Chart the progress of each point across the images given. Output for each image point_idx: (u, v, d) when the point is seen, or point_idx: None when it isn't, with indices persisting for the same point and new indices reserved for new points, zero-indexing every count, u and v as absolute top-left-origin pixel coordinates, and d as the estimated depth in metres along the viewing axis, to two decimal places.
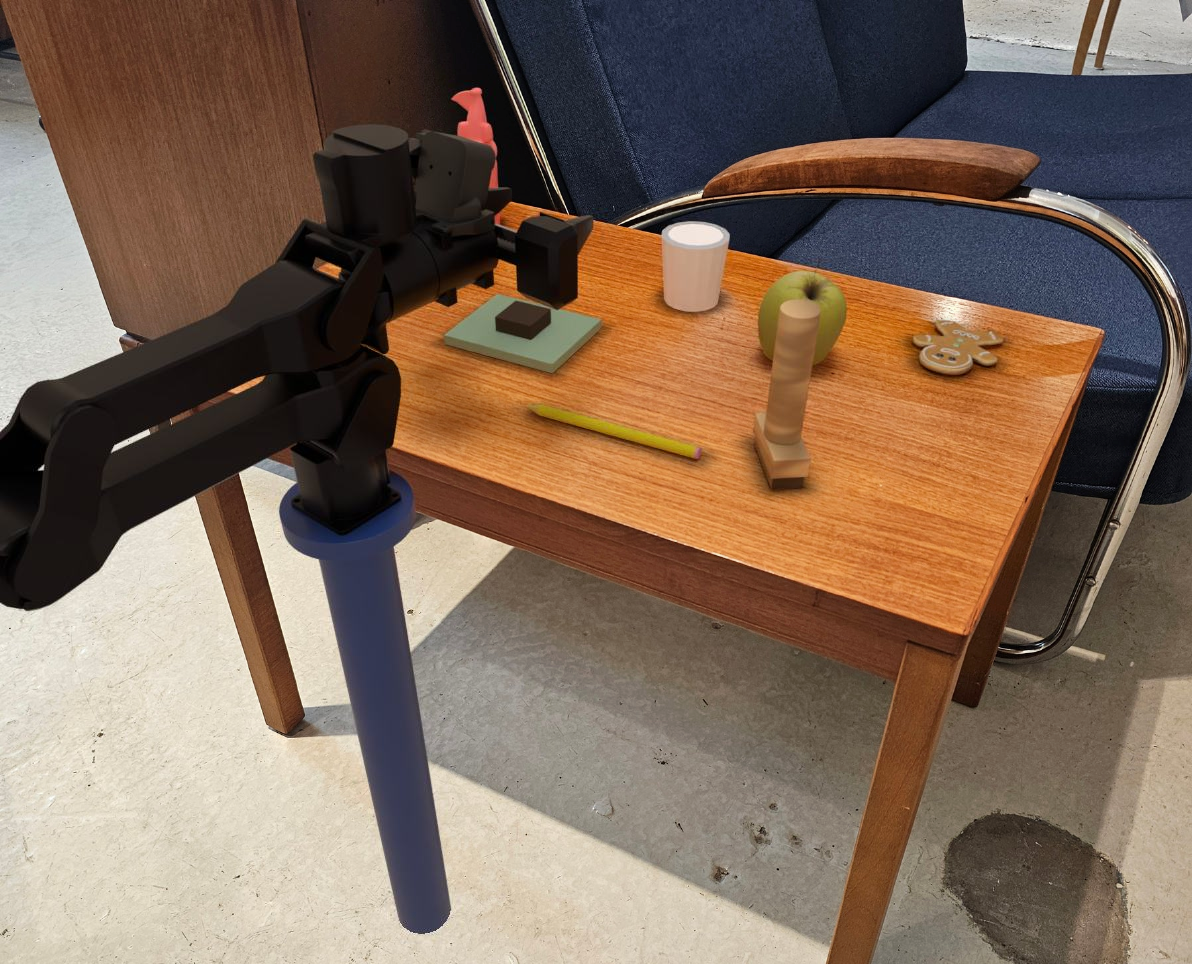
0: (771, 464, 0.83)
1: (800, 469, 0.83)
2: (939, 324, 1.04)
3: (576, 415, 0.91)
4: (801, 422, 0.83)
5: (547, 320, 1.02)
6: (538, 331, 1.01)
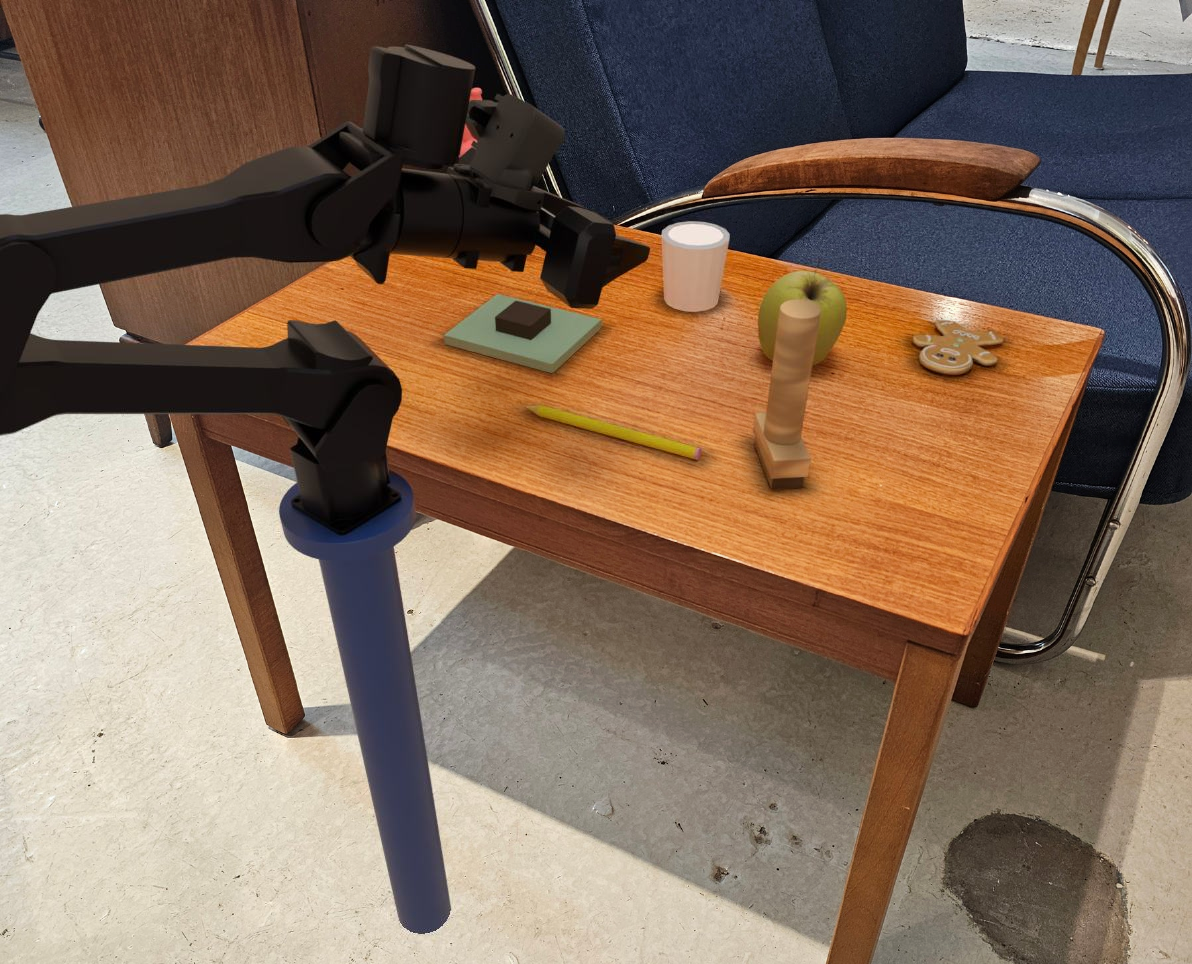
0: (771, 464, 0.83)
1: (800, 469, 0.83)
2: (939, 324, 1.04)
3: (576, 416, 0.91)
4: (801, 422, 0.83)
5: (547, 320, 1.02)
6: (538, 331, 1.01)
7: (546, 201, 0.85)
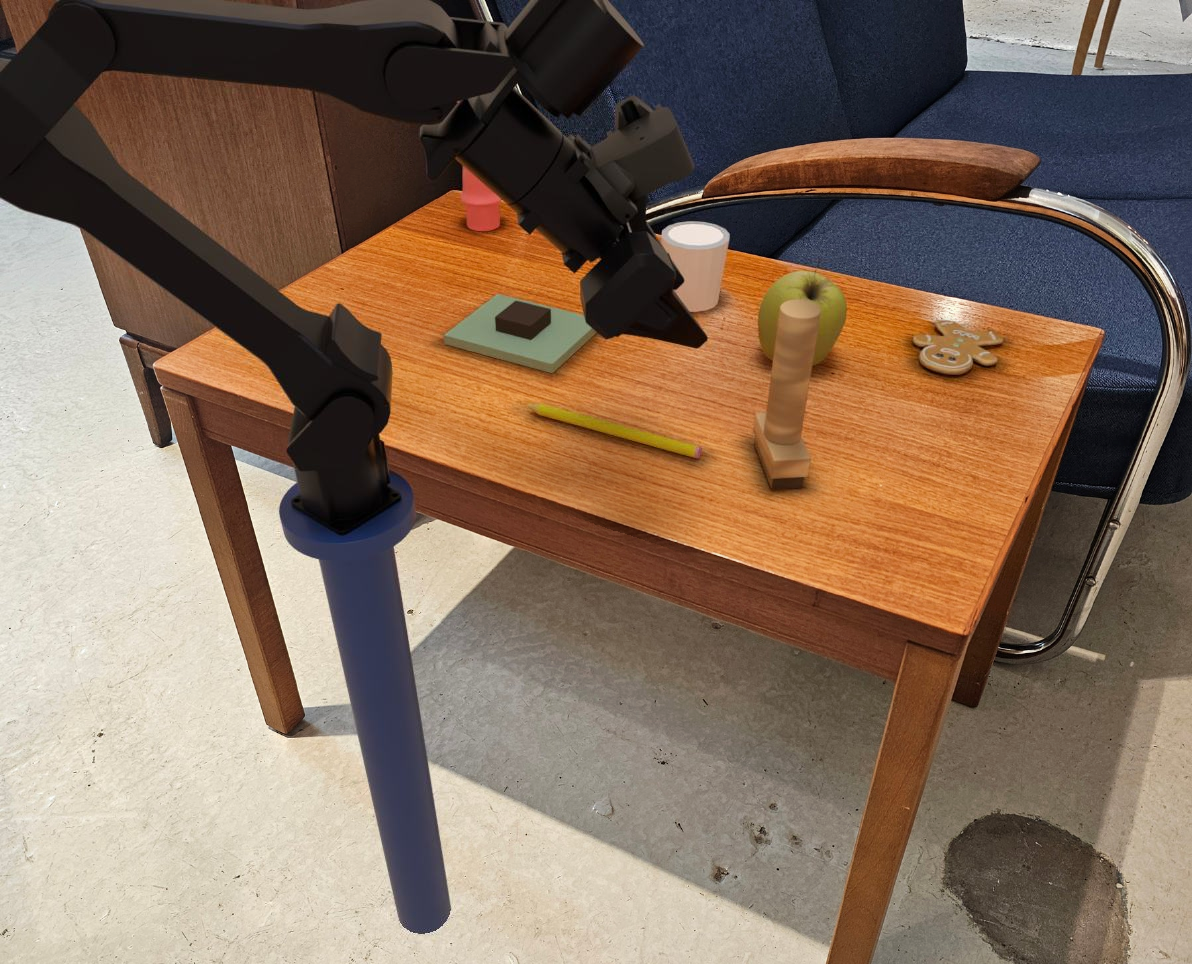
0: (771, 464, 0.83)
1: (800, 469, 0.83)
2: (939, 324, 1.04)
3: (576, 414, 0.91)
4: (801, 422, 0.83)
5: (547, 320, 1.02)
6: (538, 331, 1.01)
7: None
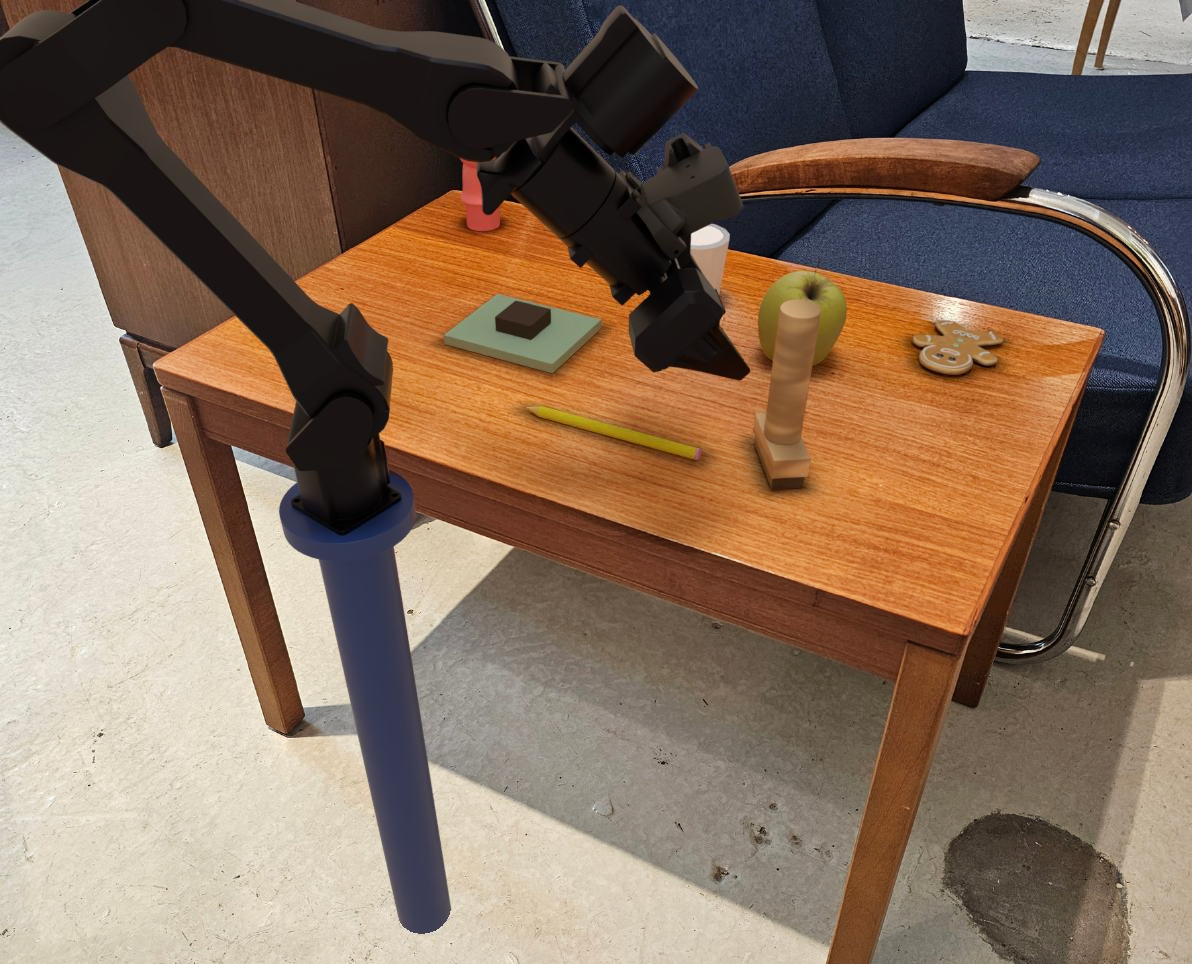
0: (771, 464, 0.83)
1: (800, 469, 0.83)
2: (939, 324, 1.04)
3: (576, 417, 0.91)
4: (801, 422, 0.83)
5: (547, 320, 1.02)
6: (538, 331, 1.01)
7: None
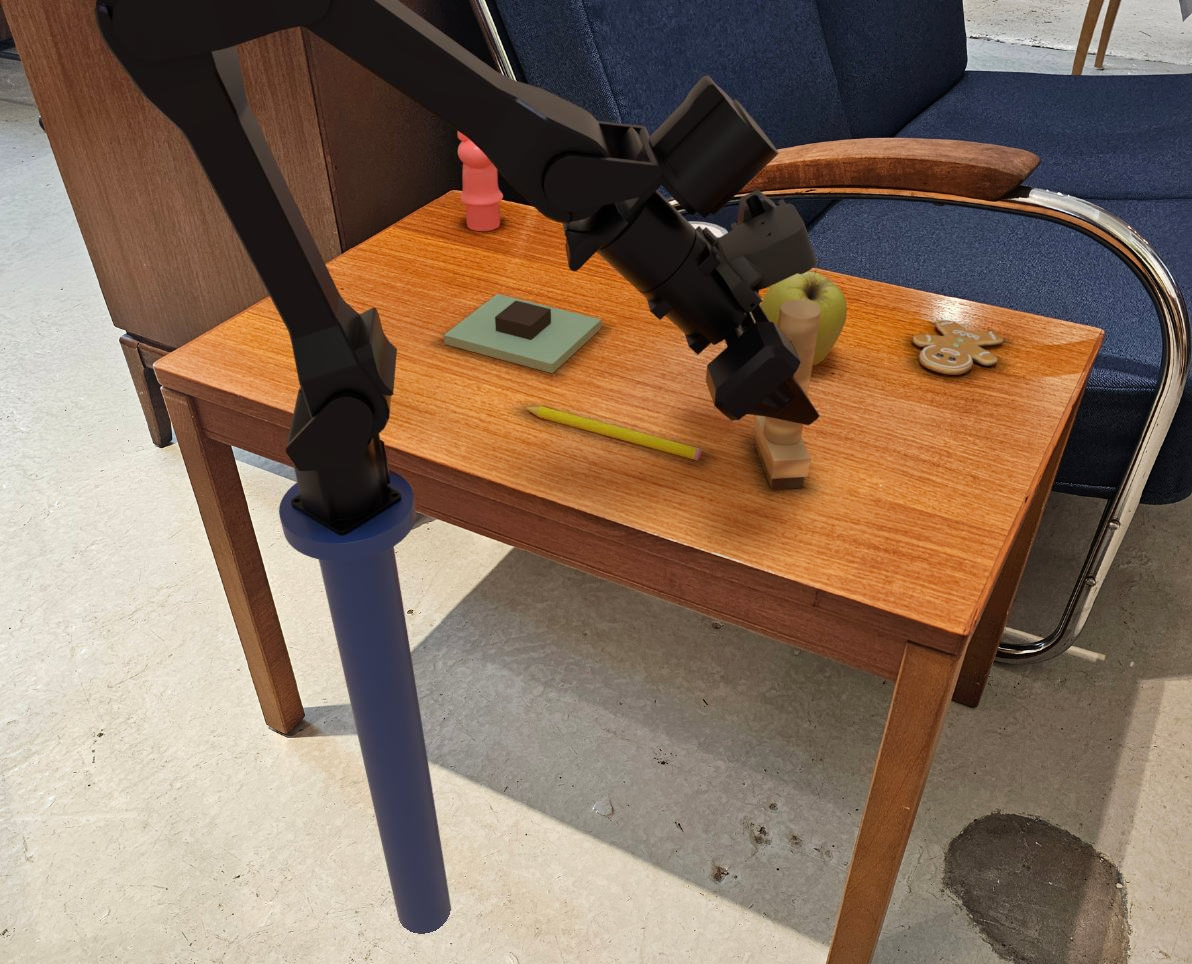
0: (771, 464, 0.83)
1: (800, 469, 0.83)
2: (939, 324, 1.04)
3: (576, 417, 0.91)
4: None
5: (547, 320, 1.02)
6: (538, 331, 1.01)
7: None
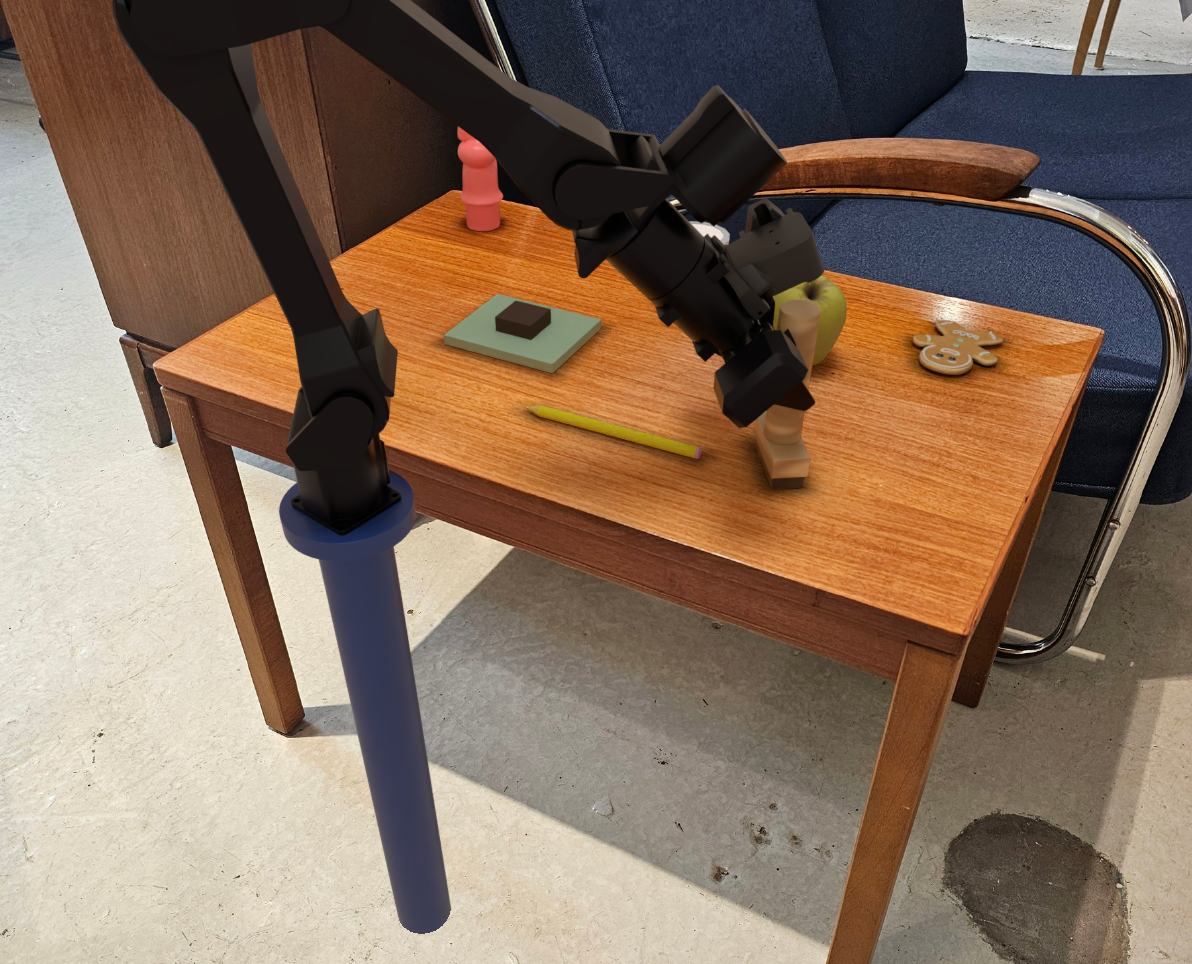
0: (771, 464, 0.83)
1: (800, 469, 0.83)
2: (939, 323, 1.04)
3: (576, 416, 0.91)
4: (801, 422, 0.83)
5: (547, 320, 1.02)
6: (538, 331, 1.01)
7: None
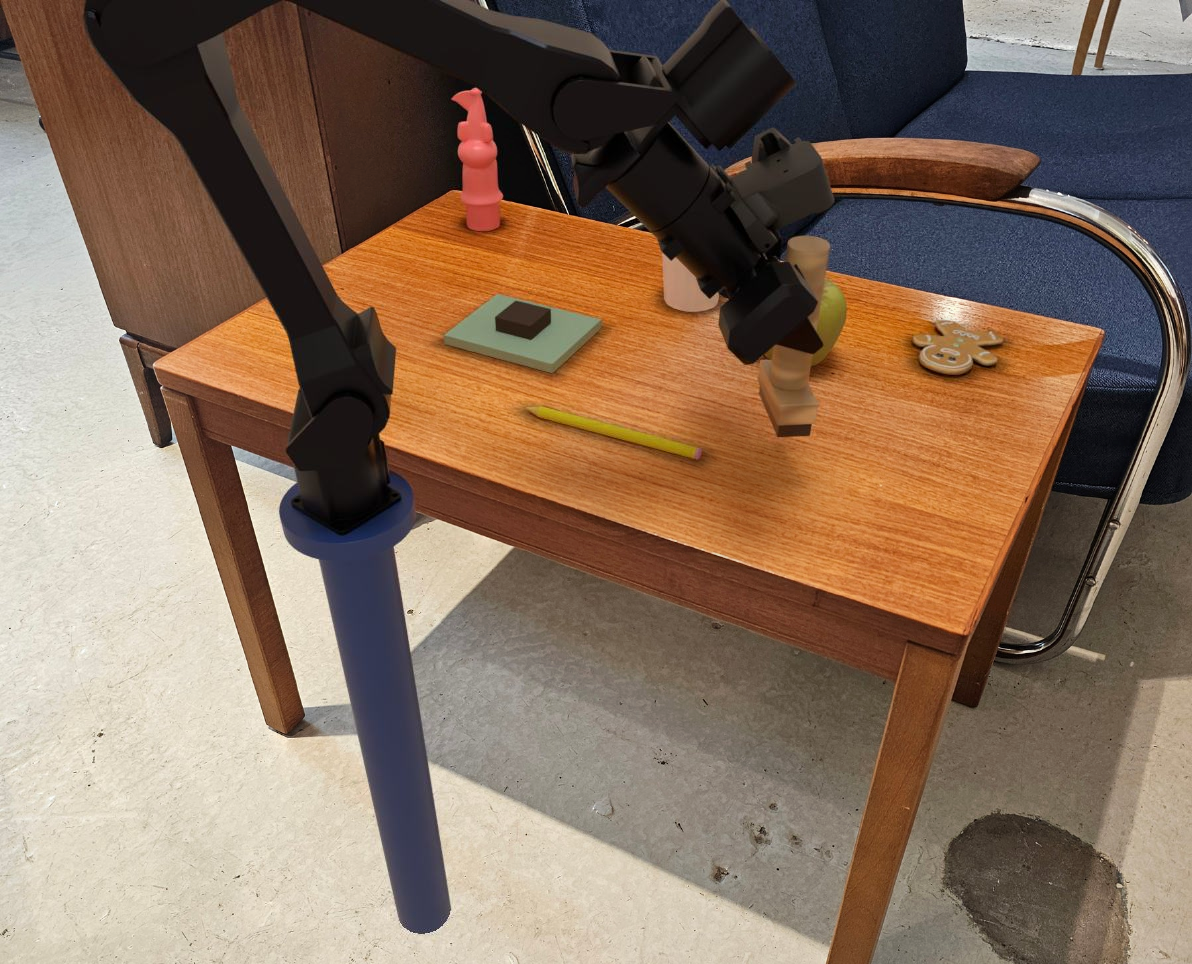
0: (777, 410, 0.80)
1: (807, 415, 0.80)
2: (939, 324, 1.04)
3: (576, 417, 0.91)
4: (808, 367, 0.80)
5: (547, 320, 1.02)
6: (538, 331, 1.01)
7: None
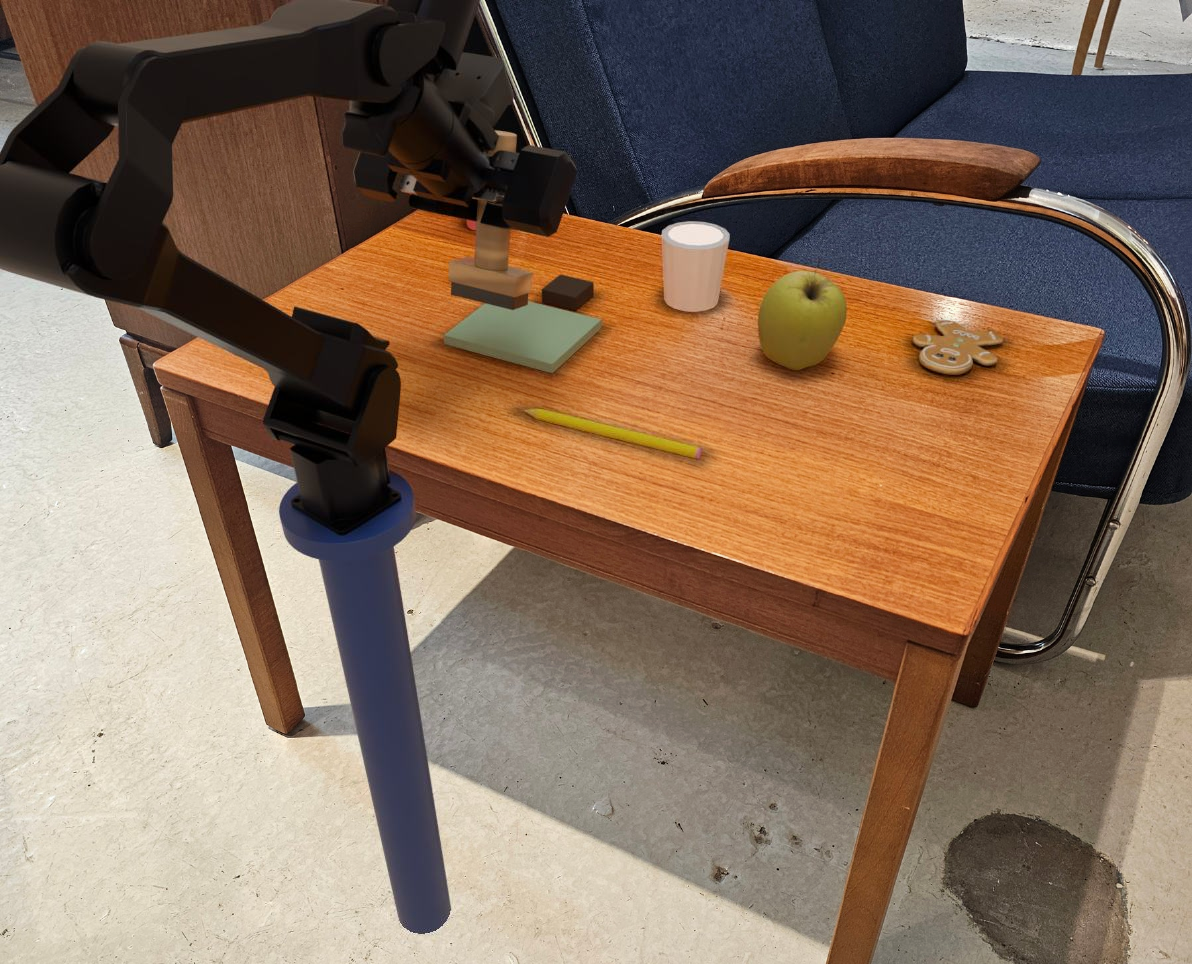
0: (511, 283, 0.92)
1: (528, 284, 0.94)
2: (939, 324, 1.04)
3: (575, 418, 0.91)
4: None
5: (590, 293, 1.09)
6: (582, 303, 1.08)
7: None
